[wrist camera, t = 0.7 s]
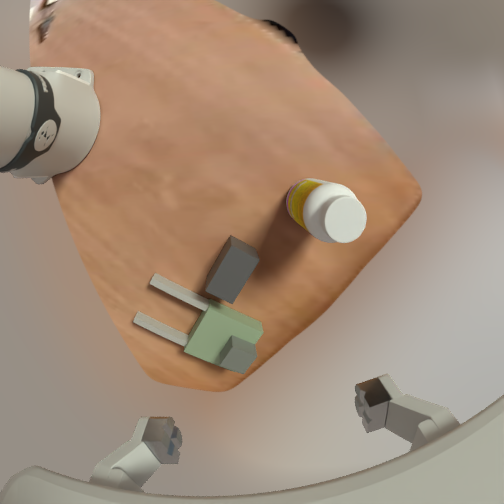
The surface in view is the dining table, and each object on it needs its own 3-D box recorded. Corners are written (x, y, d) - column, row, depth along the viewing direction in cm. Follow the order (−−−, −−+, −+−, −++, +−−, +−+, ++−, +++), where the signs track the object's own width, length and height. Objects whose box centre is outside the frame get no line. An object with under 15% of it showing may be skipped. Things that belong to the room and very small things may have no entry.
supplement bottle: (284, 224, 39) (311, 253, 27) (286, 176, 37) (316, 184, 25) (328, 224, 39) (370, 252, 27) (331, 179, 37) (377, 189, 25)
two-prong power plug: (135, 316, 41) (125, 337, 35) (155, 271, 39) (145, 289, 33) (233, 360, 45) (235, 384, 40) (260, 322, 43) (266, 344, 38)
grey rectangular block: (231, 287, 41) (232, 304, 36) (207, 276, 40) (205, 291, 35) (255, 248, 40) (259, 260, 35) (230, 234, 39) (231, 245, 34)
